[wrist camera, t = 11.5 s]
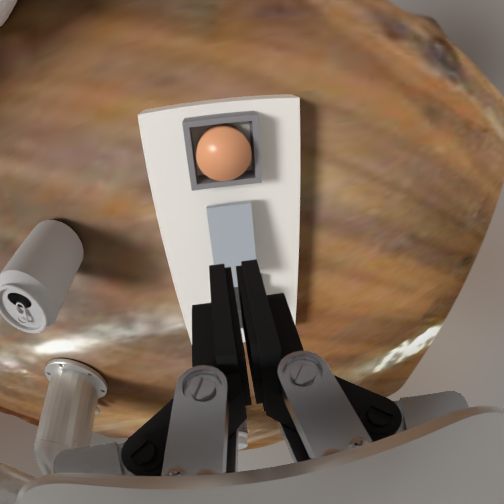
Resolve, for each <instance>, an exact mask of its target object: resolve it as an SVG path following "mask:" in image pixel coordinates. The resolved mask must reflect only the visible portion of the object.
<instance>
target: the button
mask: <svg viewBox="0 0 504 504" xmlns="http://www.w3.org/2000/svg"><path fill="white" fill-rule="evenodd" d="M251 157H252V152H251V147H250V144H249V142H248V140H247V138H246V136H245V135H244V133H243V132H242V131H241V130H240V129H239V128H237V127H236V126H234V125H231V124H225V123H223V124H216V125H213V126H211V127H209V128H207V129H206V130H205V131H204V132H203V133H202V135H201V136H200V138H199V140H198V144H197V151H196V160H197V164H198V166H199V168H200V170H201V171H202V172H203V173H204V174H205V175H206V176H208V177H209V178H211V179H214V180H218V181H229V180H233V179H235V178H237V177H239V176H240V175H242V174H243V173H244V172H245V171H246V169H247V168H248V166H249V164H250V162H251Z"/></svg>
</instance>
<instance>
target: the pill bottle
mask: <svg viewBox="0 0 504 504" xmlns="http://www.w3.org/2000/svg"><path fill="white" fill-rule="evenodd" d="M238 430H239V436H238V449H243V448H246V447H247V439H246V438H247V437H248V431H247V424H246V420H245V421H244V422H243V423H242V424H241V425H240V426H239V428H238Z"/></svg>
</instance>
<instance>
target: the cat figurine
mask: <svg viewBox="0 0 504 504" xmlns="http://www.w3.org/2000/svg"><path fill="white" fill-rule="evenodd" d="M16 2H17V0H0V26H2V25H3V24H4V23H5V21H6V20H7V18H8V17H9V15H10V13H11V12H12V10H13V8H14V6H15V4H16Z"/></svg>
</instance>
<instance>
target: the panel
mask: <svg viewBox="0 0 504 504" xmlns="http://www.w3.org/2000/svg"><path fill="white" fill-rule="evenodd" d="M138 121H139V127H140V133H141V139H142V145H143V150H144V156H145V161H146V166H147V171H148V176H149V181H150V186H151V191H152V196H153V201H154V205H155V210H156V214H157V219H158V223H159V227H160V231H161V236H162V240H163V244H164V248H165V252H166V256H167V260H168V264H169V267H170V271H171V275H172V279H173V282H174V286H175V290H176V293H177V297H178V300H179V304H180V307H181V311H182V314H183V318H184V321H185V324H186V327H187V331H188V334H189V337H190V340H191V344H192V305H197V304H205V303H211V292H210V275H209V265H214V262H213V255H212V248H211V240H210V233H209V225H208V218H207V210H206V207H207V206H208V205H216V204H225V203H233V202H242V201H250V202H251V207H252V218H253V229H254V240H255V251H256V259H257V262H258V266H259V269H260V273H261V276H262V280H263V284H264V287H265V291H266V294H267V295H271V294H278V293H284V295H285V297H286V300H287V303H288V306H289V309H290V312H291V315H292V318H293V321H294V323H296V305H297V284H298V260H299V227H300V98H299V97H297V96H294V95H292V94H286V95H262V96H246V97H234V98H223V99H214V100H205V101H197V102H189V103H182V104H176V105H170V106H163V107H158V108H152V109H147V110H144V111H142V112H141V113H139V114H138ZM223 123H225V124H231V125H234V126H236V127H237V128H239V129H240V130H241V131H242V132H243V133H244V135H245V136H246V138H247V140H248V142H249V144H250V147H251V152H252V157H251V162H250V164H249V166H248V168H247V169H246V171H245V172H244V173H243V174H242V175H240V176H239V177H237V178H235V179H233V180H229V181H218V180H214V179H211V178H209V177H208V176H206V175H205V174H204V173H203V172H202V171H201V170H200V168H199V166H198V164H197V160H196V151H197V144H198V140H199V138H200V136H201V135H202V133H203V132H204V131H205V130H206V129H207V128H209V127H211V126H213V125H216V124H223ZM241 334H242V340H243V342H245V336H244V330H243V328H241Z"/></svg>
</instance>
